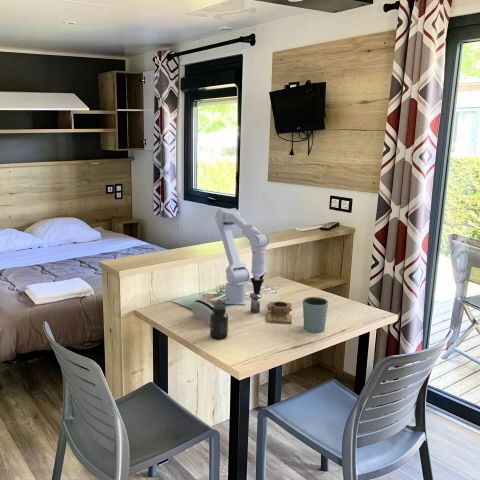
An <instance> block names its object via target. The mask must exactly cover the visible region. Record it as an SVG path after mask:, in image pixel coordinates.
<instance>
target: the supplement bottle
mask: <svg viewBox="0 0 480 480" xmlns="http://www.w3.org/2000/svg"><path fill="white" fill-rule="evenodd" d="M226 309H227V308H226V306H225V305H222V304H221V305H220V304H218V305H217V304H216V305H214V307H213V313H212V314H211V316H210V324H209V336H210V338H211V339H212V338H213V339H212V340H215V339H216V341H219V340H220V341H222V339H223V340H226V339H227V338H228V336H229V335H228V334H229V315H228V314H227V313H226V312H227V311H226Z"/></svg>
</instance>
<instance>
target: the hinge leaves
mask: <svg viewBox="0 0 480 480" xmlns="http://www.w3.org/2000/svg"><path fill="white" fill-rule="evenodd" d="M268 306H269V307H268V310H270V312H269V313H268V314H267V323H273V324H277V323H278V324H292V319H293V318H292V314H290V312H291V311H292V309H293V308H292V302H286V301H280V300H279V301H269V305H268Z"/></svg>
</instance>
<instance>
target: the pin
mask: <svg viewBox="0 0 480 480" xmlns="http://www.w3.org/2000/svg"><path fill="white" fill-rule="evenodd" d="M249 297H250V313H252V314H260V311H261V309H260V308H261V298H262V293H259V294H254V292H250V294H249Z"/></svg>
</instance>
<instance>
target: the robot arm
mask: <svg viewBox="0 0 480 480" xmlns="http://www.w3.org/2000/svg"><path fill="white" fill-rule="evenodd" d="M214 219H215V222H216V223H215V224H216V226H217V229H218V230H219V231H218V232H219V234H220V237H221V241H222V243H223V244H222V245H223V247H224V251H225V255H226V257H227V261H228V266H227V268H225V274H226V281H227V282H226V284H225V289H224V291H225V292H224V304H227V305H241V306H245V305H246V303H247V301H248V299H247V298H246V293H247V291H246V289H247V286H246V285H247V284H248V282H249V280H250V282H251V284H252V288H253V293H254V294H261V289H262V285H263V283H264V281H265V279H264V276H265V274H268V270H266V251H267V250H266V249H267V246H268V245H269V242H270V239H269V236H268V235H267V233H265V232H261V231H260V230H258V229H257V228H256V227H255V226H254V224H252V223H247V222H246V221H245V220H244V218H243V217H242V216H241V213H240V211H239V210H238V209H237V208H236V207H233V208H225V209H220V208H219V209H217V210H216V212H215V215H214ZM235 225H236V226H237V227H238V228H239V229H241V234H242V235H243V236H244V237H245V238H246V239H247V240H249V245H250V251H251V253H252V254H251V271H249V269H248V267H247V265H246V264H245V263H243V262H241V259H240V256H239V252H238V248H237V245H236V243H235V239H234V236H233V232H232V230H233V229H232V228H234V227H235ZM250 273H251V274H250ZM251 275H252V277H251Z"/></svg>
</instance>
